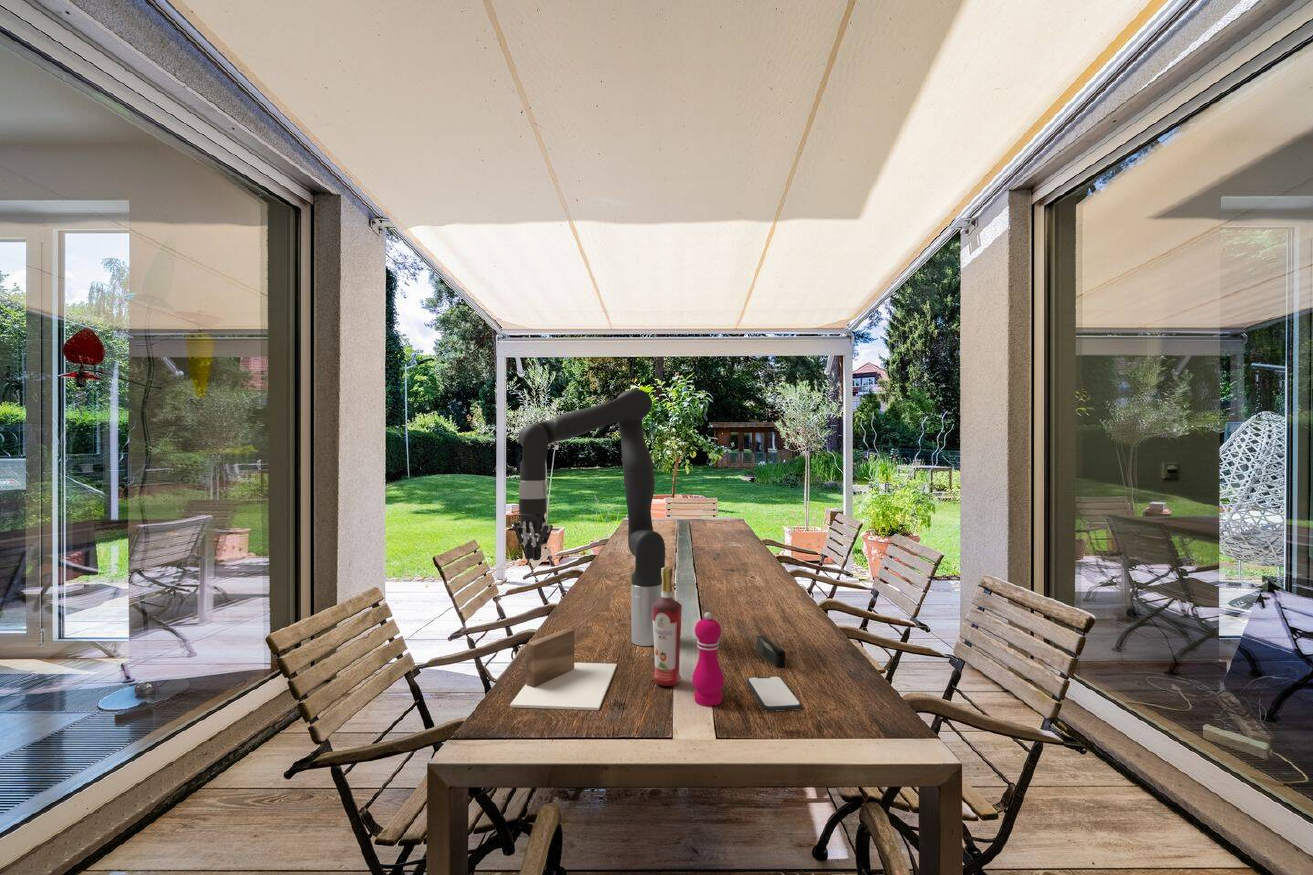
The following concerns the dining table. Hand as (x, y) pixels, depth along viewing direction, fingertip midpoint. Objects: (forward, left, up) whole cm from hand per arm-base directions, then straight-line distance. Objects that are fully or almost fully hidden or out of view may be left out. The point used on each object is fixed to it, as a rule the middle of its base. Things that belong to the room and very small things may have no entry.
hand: (532, 559), depth 159 cm
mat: (-14, +17, -27) cm, 35 cm away
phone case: (-63, +19, -28) cm, 71 cm away
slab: (-9, +14, -26) cm, 31 cm away
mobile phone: (-65, -5, -27) cm, 70 cm away
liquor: (-38, +14, -27) cm, 49 cm away
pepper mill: (-48, +23, -27) cm, 60 cm away
